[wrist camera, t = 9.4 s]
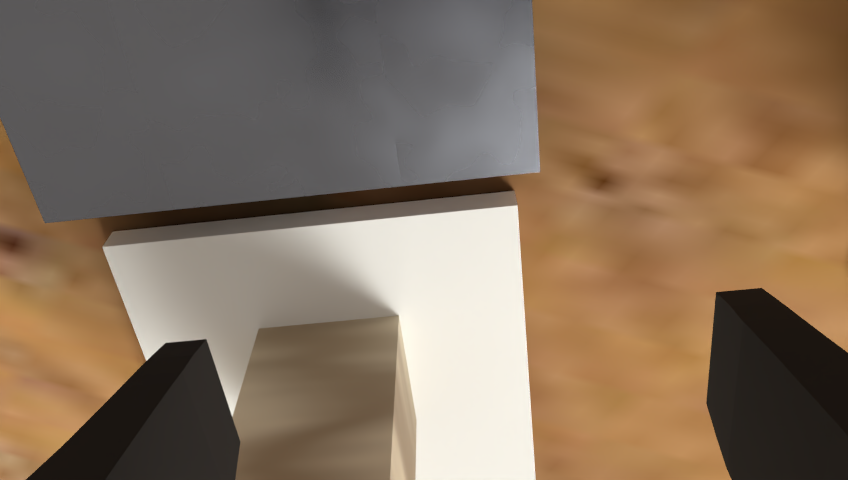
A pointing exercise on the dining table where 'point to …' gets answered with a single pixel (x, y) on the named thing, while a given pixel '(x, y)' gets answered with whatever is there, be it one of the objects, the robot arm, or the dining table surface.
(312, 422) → the birch peg
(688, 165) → the dining table surface
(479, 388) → the white tile
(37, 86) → the hole plate
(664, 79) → the dining table surface
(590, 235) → the dining table surface
